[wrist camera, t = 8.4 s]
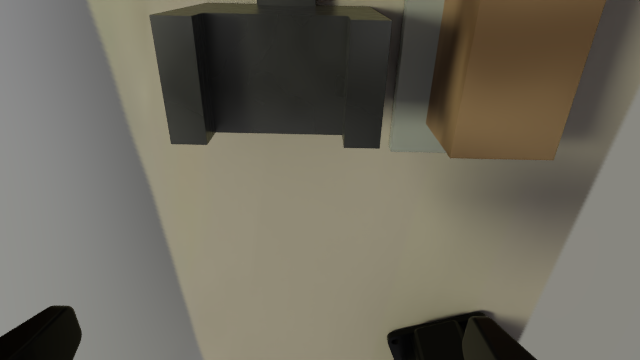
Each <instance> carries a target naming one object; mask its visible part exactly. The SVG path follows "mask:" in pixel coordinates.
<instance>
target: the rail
mask: <svg viewBox="0 0 640 360" xmlns="http://www.w3.org/2000/svg"><path fill="white" fill-rule="evenodd" d="M605 2H606V0H445V1H444V8H443V14H442V21H441V27H440V34H439V40H438V47H437V53H436V60H435V66H434V73H433V79H432V86H431V92H430V99H429V105H428V112H427V118H426V125H427V126H428V128H429V129H430V130H431V132H432V133H433V135H434V136H435V137H436V139H437V140H438V142H439V143H440V144H441V146H442V147H443V149H444V150H445V151H446V153H447V154H448V156H449V157H450V158H472V159H519V160H554V157H555V154H556V151H557V148H558V145H559V142H560V139H561V136H562V133H563V130H564V127H565V124H566V121H567V118H568V115H569V112H570V109H571V106H572V103H573V100H574V97H575V93H576V90H577V87H578V84H579V81H580V78H581V75H582V72H583V69H584V66H585V63H586V60H587V57H588V54H589V51H590V48H591V45H592V42H593V39H594V36H595V33H596V30H597V27H598V24H599V20H600V17H601V14H602V11H603V8H604V5H605Z"/></svg>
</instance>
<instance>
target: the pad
mask: <svg viewBox="0 0 640 360" xmlns="http://www.w3.org/2000/svg"><path fill="white" fill-rule="evenodd" d="M444 1H445V0H405V4H404V13H403V22H402V31H401V40H400V49H399V58H398V67H397V76H396V85H395V94H394V103H393V112H392V121H391V131H390V140H389V149H390V151H391V152H438V153H446V151H445V150H444V149H443V147H442V146H441V144H440V143H439V142H438V140H437V139H436V137H435V136H434V135H433V133H432V132H431V130H430V129H429V128H428V126H427V125H426V118H427V112H428V105H429V99H430V92H431V86H432V79H433V73H434V66H435V60H436V53H437V47H438V40H439V34H440V27H441V21H442V14H443V8H444Z"/></svg>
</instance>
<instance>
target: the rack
mask: <svg viewBox="0 0 640 360" xmlns="http://www.w3.org/2000/svg"><path fill="white" fill-rule="evenodd" d="M150 21H151V27H152V33H153V39H154V45H155V51H156V57H157V63H158V69H159V75H160V80H161V86H162V92H163V98H164V104H165V110H166V116H167V122H168V128H169V134H170V140H171V144H193V145H207V144H208V143H209V141H210V140H211V138H212V137H213V135H214V134H215V132H230V133H276V134H323V135H342V137H343V145H344V148H380V138H381V127H382V117H383V107H384V97H385V87H386V77H387V67H388V57H389V47H390V37H391V26H392V20H390V19H389V18H387V17H385V16H384V15H382V14H380V13H379V12H377V11H376V10H374V9H372V8H371V7H365V6H322V5H316V0H257V4H235V3H203V4H199V5H194V6H189V7H185V8H180V9H175V10H171V11H166V12H161V13H157V14H152V15H150Z"/></svg>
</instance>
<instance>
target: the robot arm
mask: <svg viewBox="0 0 640 360" xmlns="http://www.w3.org/2000/svg"><path fill="white" fill-rule="evenodd" d="M81 335H82V333H81V328H80V326H79V323H78V320H77V318H76V314H75V312H74V309H73V308H72V307H70V306H50V307H48V308H47V309H45V310H43V311H42V312H40V313H38V314H37V315H35V316H33V317H32V318H30V319H29V320H27V321H26V322H24V323H22V324H21V325H19V326H17V327H16V328H14V329H12V330H11V331H9V332H8V333H6V334H4V335H3V336H1V337H0V360H73V358H74V356H75V353H76V351H77V349H78V346H79V344H80V341H81ZM387 340H388V345H389V347H390V350H391V353H392V355H393V358H394V360H537V359H536V358H534V357H533V356H532V355H531V354H530V353H529V352H528V351H526V350H525V349H524V348H523V347H522V346H521V345H520V344H519V343H518V342H517V341H516V340H514V339H513V338H512V337H511V336H510V335H509V334H508V333H507V332H506V331H504V330H503V329H502V328H501V327H500V326H499V325H498V324H497V323H496V322H494V321H493V320H492V319H491V318H489V317H486V315H485V314H484V313H481V312H477V313H473V314H468V315H464V316H459V317H455V318H451V319H446V320H442V321H438V322H433V323H429V324H425V325H420V326H416V327H412V328H407V329H403V330H398V331H394V332H391V333H389V334H388V336H387Z"/></svg>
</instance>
